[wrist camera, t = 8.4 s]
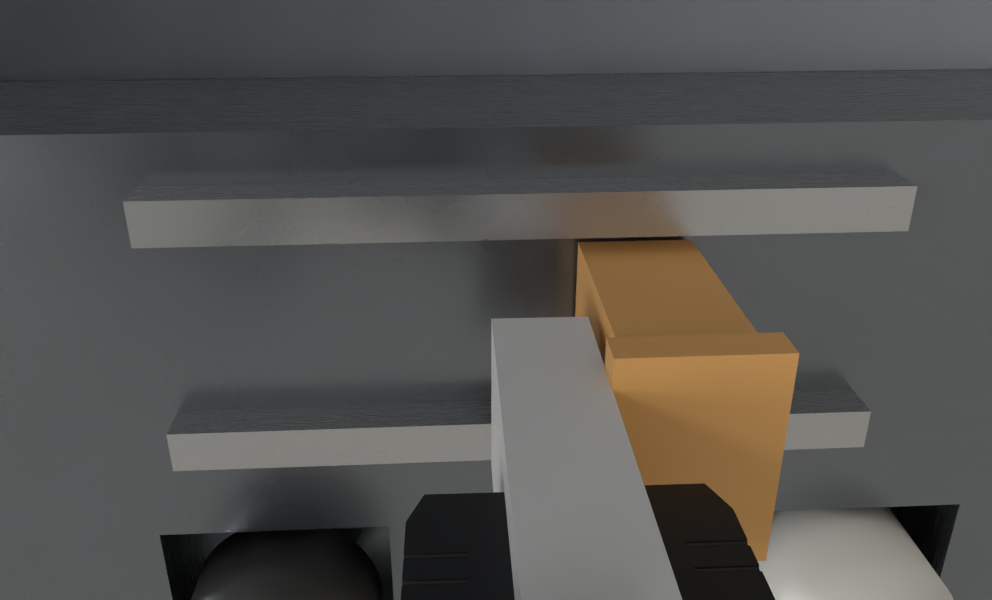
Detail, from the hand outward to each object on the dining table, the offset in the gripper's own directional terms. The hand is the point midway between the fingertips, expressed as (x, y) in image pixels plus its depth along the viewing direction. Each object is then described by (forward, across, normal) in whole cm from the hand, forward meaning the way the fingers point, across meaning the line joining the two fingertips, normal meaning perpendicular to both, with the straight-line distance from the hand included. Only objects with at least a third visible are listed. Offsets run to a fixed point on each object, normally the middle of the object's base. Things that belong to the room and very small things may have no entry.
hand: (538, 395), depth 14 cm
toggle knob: (+2, +2, 0) cm, 3 cm away
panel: (+7, +1, -3) cm, 8 cm away
